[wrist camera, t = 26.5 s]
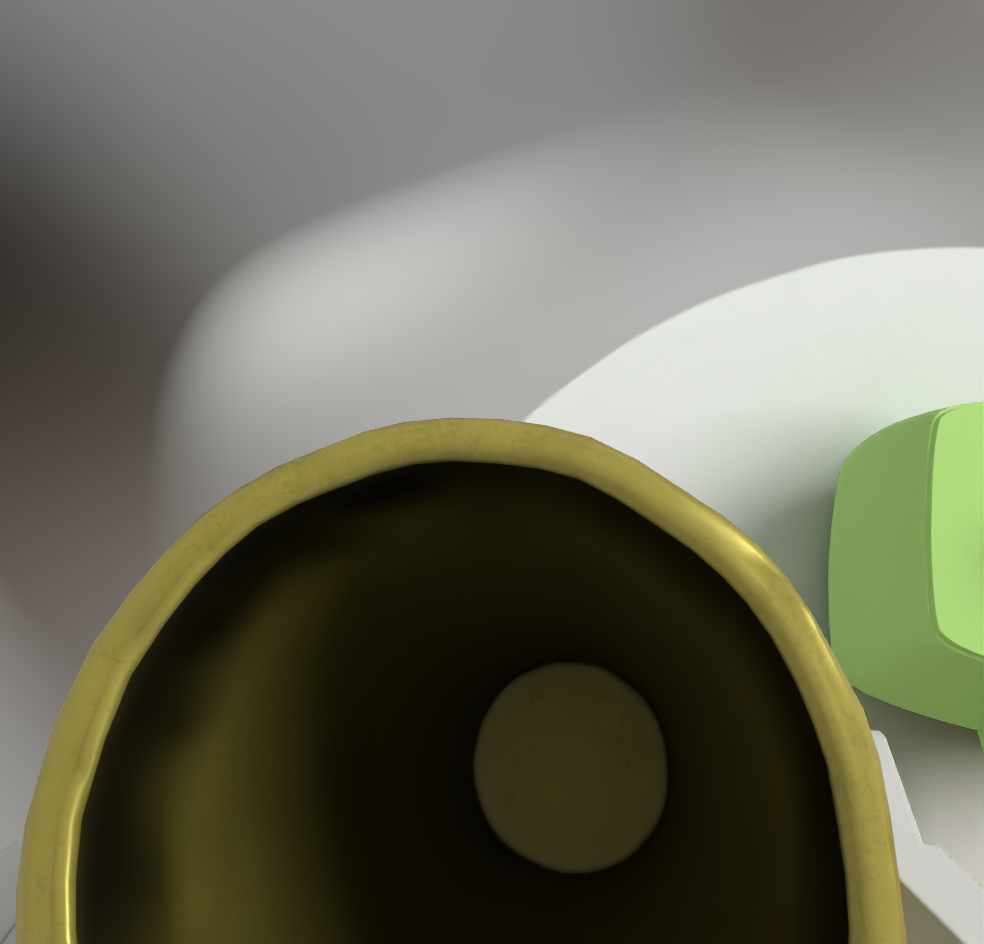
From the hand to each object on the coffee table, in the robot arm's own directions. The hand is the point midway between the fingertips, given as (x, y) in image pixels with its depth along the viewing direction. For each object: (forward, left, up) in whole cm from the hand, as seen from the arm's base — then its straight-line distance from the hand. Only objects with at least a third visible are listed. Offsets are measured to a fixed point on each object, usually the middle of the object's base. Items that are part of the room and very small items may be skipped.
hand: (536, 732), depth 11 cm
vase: (0, -1, -8) cm, 8 cm away
